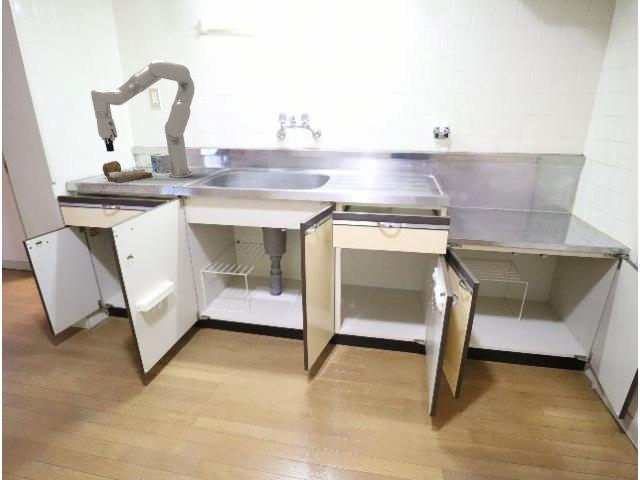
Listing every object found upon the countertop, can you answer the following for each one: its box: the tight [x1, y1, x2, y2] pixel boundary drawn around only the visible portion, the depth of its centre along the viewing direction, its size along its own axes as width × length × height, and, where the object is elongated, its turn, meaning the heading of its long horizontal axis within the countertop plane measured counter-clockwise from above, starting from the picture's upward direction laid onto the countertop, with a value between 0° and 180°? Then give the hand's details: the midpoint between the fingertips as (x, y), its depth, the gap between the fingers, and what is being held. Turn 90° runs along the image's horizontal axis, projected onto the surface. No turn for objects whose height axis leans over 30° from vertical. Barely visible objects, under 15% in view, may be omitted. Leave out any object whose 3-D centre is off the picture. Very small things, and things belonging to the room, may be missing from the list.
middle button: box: [121, 169, 134, 175], centre depth 205 cm, size 4×4×3 cm
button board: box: [106, 171, 153, 184], centre depth 204 cm, size 11×20×3 cm, turn 149°
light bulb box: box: [150, 153, 171, 174], centre depth 225 cm, size 11×7×11 cm, turn 56°
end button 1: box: [109, 172, 122, 177], centre depth 199 cm, size 4×4×3 cm
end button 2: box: [132, 167, 146, 173], centre depth 210 cm, size 4×4×3 cm
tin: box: [102, 160, 122, 178], centre depth 213 cm, size 15×3×8 cm, turn 179°
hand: (110, 151), depth 195 cm, fingers closed
